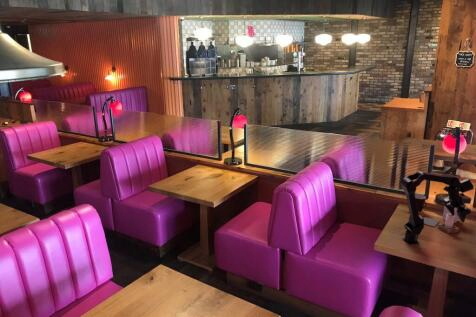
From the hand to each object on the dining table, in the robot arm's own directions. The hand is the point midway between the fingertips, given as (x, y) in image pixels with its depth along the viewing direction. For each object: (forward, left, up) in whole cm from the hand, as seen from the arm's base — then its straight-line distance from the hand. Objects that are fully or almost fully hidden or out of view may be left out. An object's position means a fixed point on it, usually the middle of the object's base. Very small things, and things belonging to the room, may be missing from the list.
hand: (458, 218), depth 229 cm
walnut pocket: (+7, +11, -13) cm, 19 cm away
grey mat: (+4, +23, -13) cm, 27 cm away
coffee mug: (+10, +40, -14) cm, 44 cm away
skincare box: (+20, +22, -14) cm, 33 cm away
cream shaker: (+7, +11, -13) cm, 19 cm away
